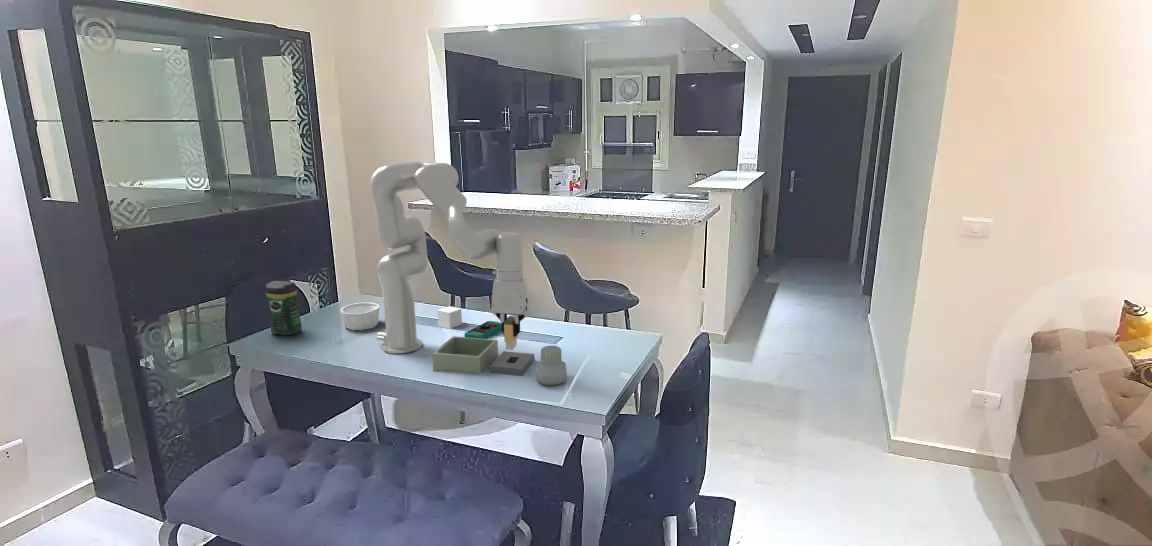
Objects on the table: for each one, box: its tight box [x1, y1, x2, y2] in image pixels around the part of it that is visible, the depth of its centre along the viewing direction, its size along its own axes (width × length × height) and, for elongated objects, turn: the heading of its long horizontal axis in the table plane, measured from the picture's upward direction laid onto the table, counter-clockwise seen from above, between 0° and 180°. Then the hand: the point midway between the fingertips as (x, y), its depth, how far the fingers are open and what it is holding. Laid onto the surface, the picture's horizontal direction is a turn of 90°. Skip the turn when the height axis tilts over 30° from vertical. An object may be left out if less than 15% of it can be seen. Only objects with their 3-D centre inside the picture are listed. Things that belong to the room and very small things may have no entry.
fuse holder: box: [489, 351, 536, 376], centre depth 184 cm, size 10×12×2 cm
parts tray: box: [431, 335, 499, 375], centre depth 187 cm, size 15×15×6 cm
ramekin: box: [340, 301, 380, 331], centre depth 220 cm, size 13×13×7 cm
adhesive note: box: [437, 305, 463, 329], centre depth 221 cm, size 6×6×6 cm
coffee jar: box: [265, 280, 303, 336], centre depth 212 cm, size 10×8×19 cm
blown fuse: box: [503, 315, 519, 351], centre depth 181 cm, size 2×5×9 cm, turn 167°
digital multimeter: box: [464, 320, 502, 339], centre depth 213 cm, size 7×15×3 cm, turn 154°
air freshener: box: [536, 345, 568, 387], centre depth 173 cm, size 11×8×10 cm
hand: (511, 334), depth 181 cm, fingers closed on blown fuse, 2 cm apart
